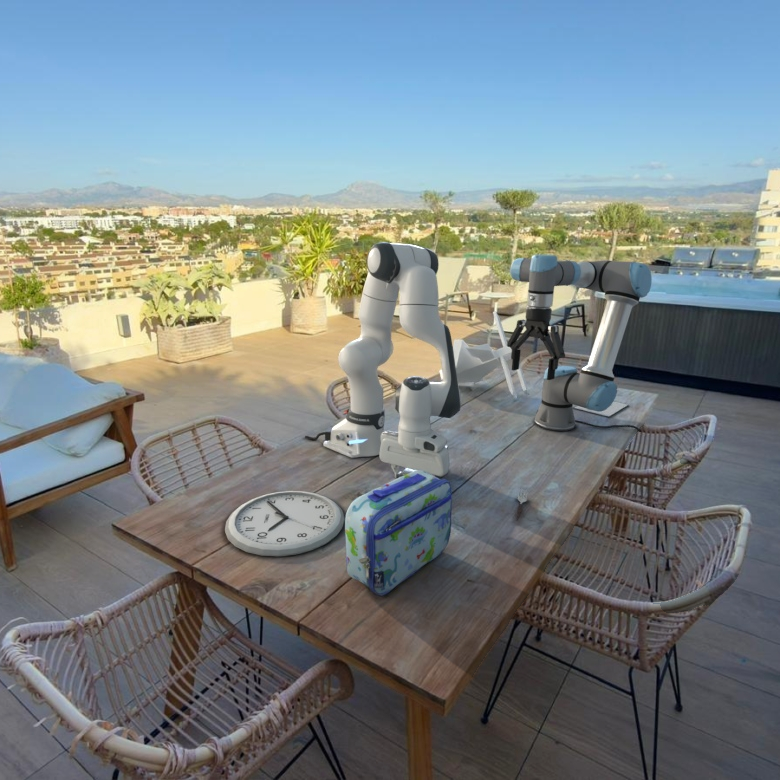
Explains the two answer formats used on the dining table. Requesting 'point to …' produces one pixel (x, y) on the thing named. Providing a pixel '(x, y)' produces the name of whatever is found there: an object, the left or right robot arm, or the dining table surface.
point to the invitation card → (609, 411)
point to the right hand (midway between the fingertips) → (532, 374)
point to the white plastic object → (484, 361)
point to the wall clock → (284, 523)
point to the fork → (521, 499)
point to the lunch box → (397, 529)
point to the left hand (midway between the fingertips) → (412, 482)
